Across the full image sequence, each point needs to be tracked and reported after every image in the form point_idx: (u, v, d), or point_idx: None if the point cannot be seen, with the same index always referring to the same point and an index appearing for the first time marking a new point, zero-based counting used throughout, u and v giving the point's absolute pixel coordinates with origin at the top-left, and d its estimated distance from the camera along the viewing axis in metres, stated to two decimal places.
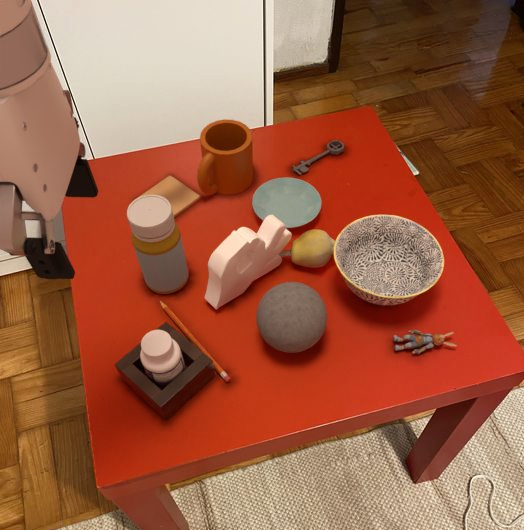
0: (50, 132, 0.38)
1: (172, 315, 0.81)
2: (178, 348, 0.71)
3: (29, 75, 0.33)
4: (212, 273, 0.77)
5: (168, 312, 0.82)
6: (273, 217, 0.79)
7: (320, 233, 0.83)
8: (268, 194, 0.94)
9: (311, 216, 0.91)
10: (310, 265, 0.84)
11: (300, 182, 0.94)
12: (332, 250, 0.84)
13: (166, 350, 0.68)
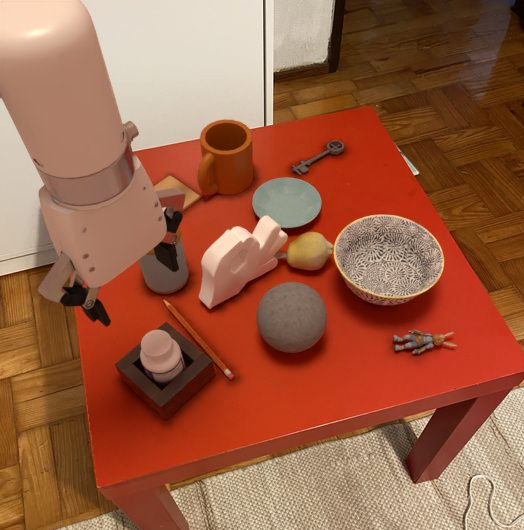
0: (116, 234, 0.48)
1: None
2: (178, 348, 0.71)
3: (95, 203, 0.43)
4: (205, 271, 0.77)
5: (173, 309, 0.82)
6: (268, 218, 0.80)
7: (316, 235, 0.83)
8: (268, 194, 0.94)
9: (311, 216, 0.91)
10: (305, 268, 0.84)
11: (300, 182, 0.94)
12: (328, 253, 0.84)
13: (166, 350, 0.68)
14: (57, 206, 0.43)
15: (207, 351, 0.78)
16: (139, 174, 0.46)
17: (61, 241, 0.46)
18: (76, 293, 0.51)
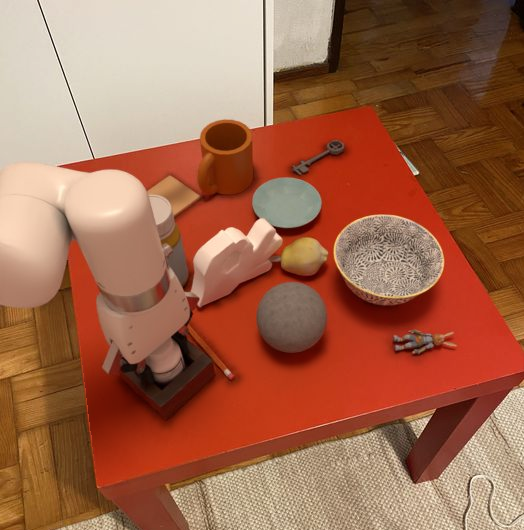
0: (153, 326, 0.61)
1: None
2: (178, 348, 0.71)
3: (141, 310, 0.56)
4: (197, 270, 0.78)
5: None
6: (264, 221, 0.79)
7: (310, 241, 0.82)
8: (268, 194, 0.94)
9: (311, 216, 0.91)
10: (298, 273, 0.84)
11: (300, 182, 0.94)
12: (322, 259, 0.83)
13: (166, 350, 0.68)
14: (111, 311, 0.57)
15: (207, 351, 0.78)
16: (172, 282, 0.59)
17: (111, 333, 0.59)
18: None
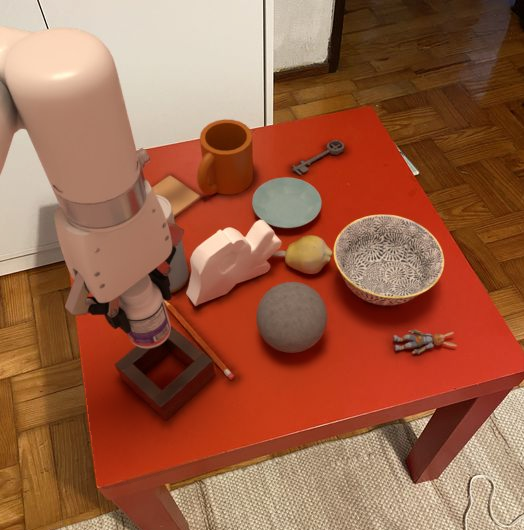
0: (126, 254, 0.50)
1: None
2: (159, 292, 0.60)
3: (109, 226, 0.45)
4: (193, 269, 0.78)
5: (173, 309, 0.82)
6: (263, 222, 0.80)
7: (315, 240, 0.82)
8: (268, 194, 0.94)
9: (311, 216, 0.91)
10: (300, 270, 0.84)
11: (300, 182, 0.94)
12: (325, 259, 0.83)
13: (144, 291, 0.57)
14: (72, 228, 0.46)
15: (207, 351, 0.78)
16: (149, 198, 0.49)
17: (74, 260, 0.49)
18: (102, 302, 0.55)
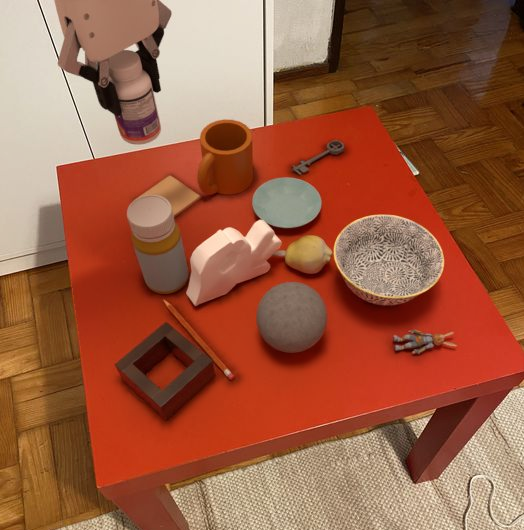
0: (114, 1, 0.54)
1: None
2: (148, 76, 0.64)
3: None
4: (193, 268, 0.78)
5: (173, 309, 0.82)
6: (263, 222, 0.80)
7: (315, 240, 0.82)
8: (268, 194, 0.94)
9: (311, 216, 0.91)
10: (300, 270, 0.84)
11: (300, 182, 0.94)
12: (325, 259, 0.83)
13: (133, 65, 0.61)
14: None
15: (207, 351, 0.78)
16: None
17: (65, 0, 0.52)
18: (93, 69, 0.59)
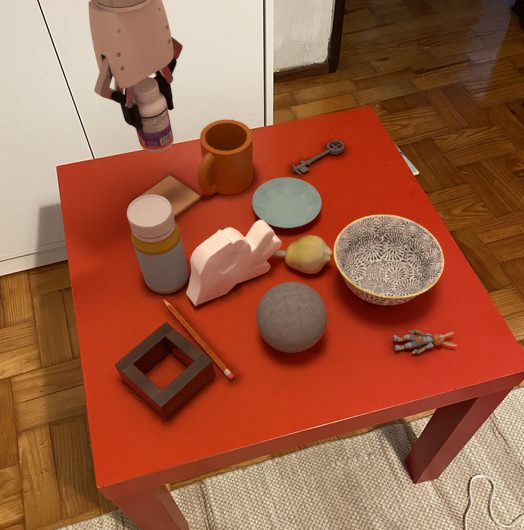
0: (139, 42, 0.69)
1: None
2: (164, 97, 0.78)
3: (128, 6, 0.64)
4: (193, 268, 0.78)
5: (173, 309, 0.82)
6: (263, 222, 0.80)
7: (315, 240, 0.82)
8: (268, 194, 0.94)
9: (311, 216, 0.91)
10: (300, 270, 0.84)
11: (300, 182, 0.94)
12: (325, 259, 0.83)
13: (152, 89, 0.76)
14: (101, 10, 0.64)
15: (207, 351, 0.78)
16: None
17: (102, 42, 0.67)
18: (121, 94, 0.74)
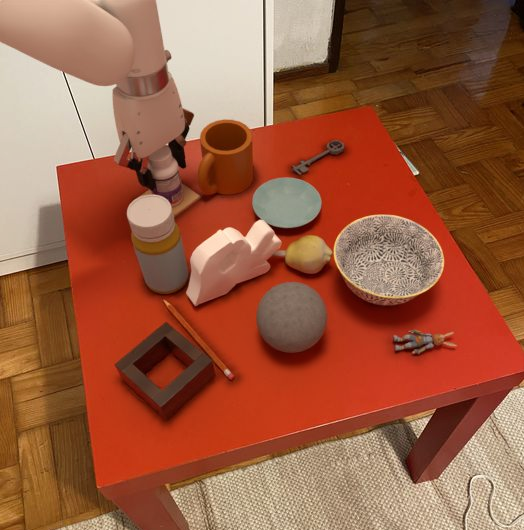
0: (156, 121, 0.79)
1: None
2: (176, 162, 0.88)
3: (147, 95, 0.74)
4: (193, 268, 0.78)
5: (173, 309, 0.82)
6: (263, 222, 0.80)
7: (315, 240, 0.82)
8: (268, 194, 0.94)
9: (311, 216, 0.91)
10: (300, 270, 0.84)
11: (300, 182, 0.94)
12: (325, 259, 0.83)
13: (166, 157, 0.85)
14: (124, 97, 0.74)
15: (207, 351, 0.78)
16: (171, 82, 0.77)
17: (124, 122, 0.77)
18: (136, 162, 0.83)
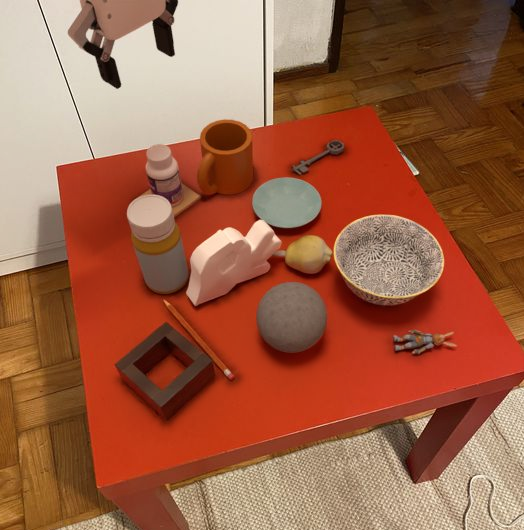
0: None
1: None
2: (176, 162, 0.88)
3: None
4: (193, 269, 0.78)
5: (173, 309, 0.82)
6: (263, 222, 0.80)
7: (315, 240, 0.82)
8: (268, 194, 0.94)
9: (311, 216, 0.91)
10: (300, 270, 0.84)
11: (300, 182, 0.94)
12: (325, 259, 0.83)
13: (166, 157, 0.85)
14: None
15: (207, 351, 0.78)
16: None
17: None
18: (96, 45, 0.67)
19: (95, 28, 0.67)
